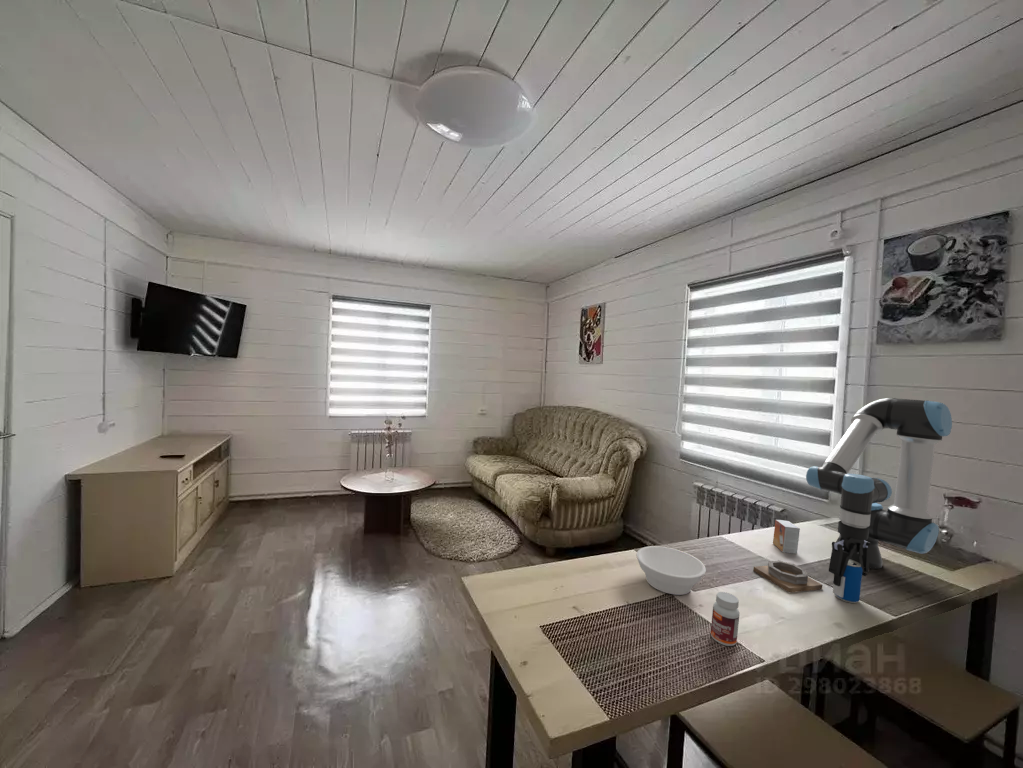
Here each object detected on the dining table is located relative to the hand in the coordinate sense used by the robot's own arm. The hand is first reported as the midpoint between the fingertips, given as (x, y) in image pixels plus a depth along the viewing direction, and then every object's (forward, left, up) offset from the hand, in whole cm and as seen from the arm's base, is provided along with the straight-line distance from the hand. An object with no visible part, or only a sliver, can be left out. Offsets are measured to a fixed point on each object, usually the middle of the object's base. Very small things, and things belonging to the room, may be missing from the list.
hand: (846, 594), depth 130 cm
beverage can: (0, 0, -2) cm, 2 cm away
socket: (+9, -13, -2) cm, 16 cm away
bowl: (+54, -16, -2) cm, 57 cm away
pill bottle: (+56, +10, -2) cm, 57 cm away
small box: (-14, -34, -2) cm, 37 cm away
